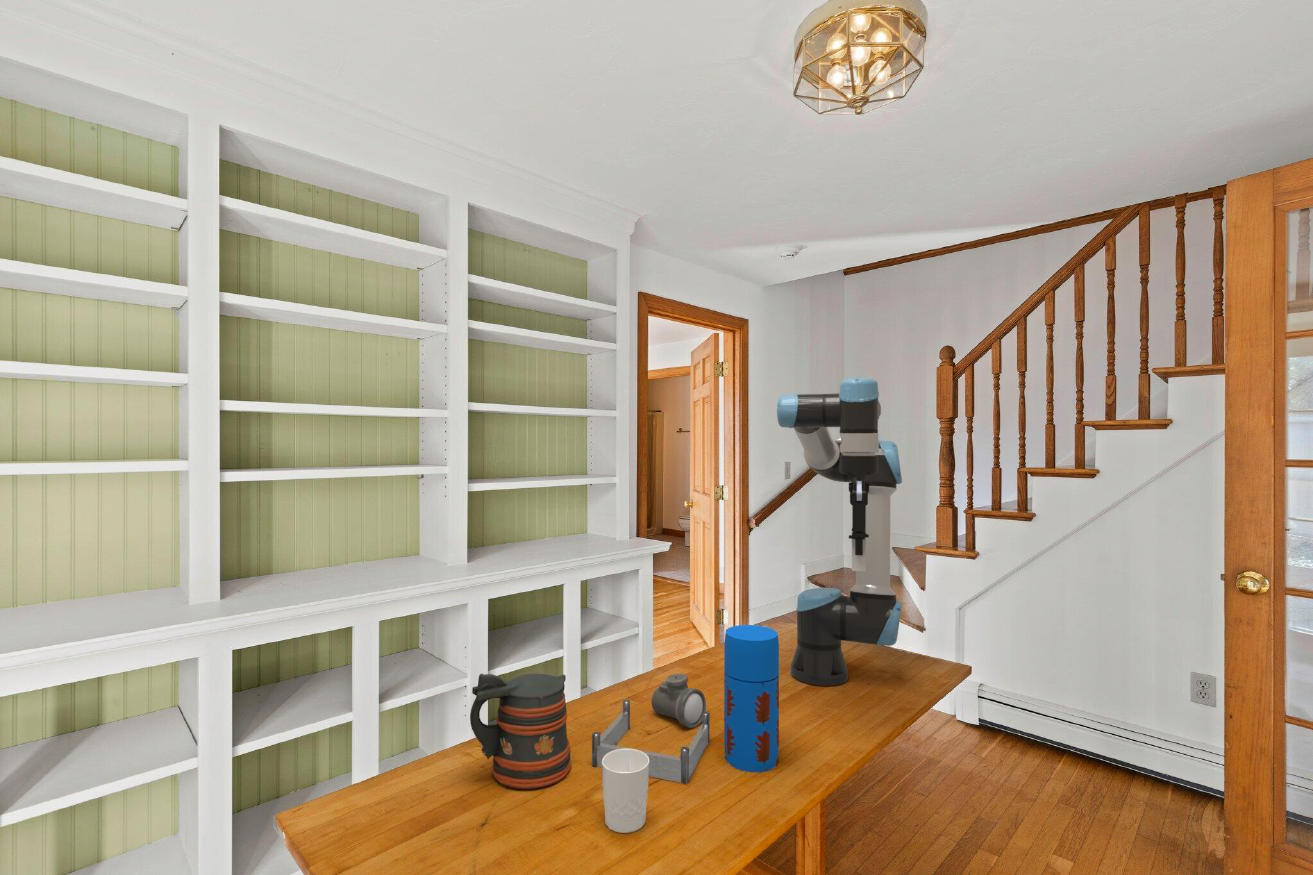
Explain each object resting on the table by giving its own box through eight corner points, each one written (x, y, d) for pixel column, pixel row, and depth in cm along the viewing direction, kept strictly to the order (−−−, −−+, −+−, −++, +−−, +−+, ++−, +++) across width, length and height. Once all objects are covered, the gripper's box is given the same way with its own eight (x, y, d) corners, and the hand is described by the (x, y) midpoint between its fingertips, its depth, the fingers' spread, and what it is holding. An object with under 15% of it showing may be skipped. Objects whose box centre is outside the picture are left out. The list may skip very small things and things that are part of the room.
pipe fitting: (710, 720, 137) (704, 674, 137) (686, 734, 131) (679, 687, 132) (673, 709, 145) (667, 666, 146) (648, 722, 140) (642, 678, 140)
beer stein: (485, 809, 103) (486, 691, 104) (459, 771, 115) (460, 665, 116) (584, 775, 114) (584, 669, 114) (551, 744, 126) (551, 647, 127)
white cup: (601, 807, 104) (602, 749, 104) (647, 805, 105) (647, 747, 105) (601, 837, 96) (601, 773, 96) (650, 834, 97) (651, 771, 97)
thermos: (782, 750, 124) (782, 627, 125) (774, 776, 114) (775, 643, 114) (730, 741, 128) (730, 622, 128) (718, 766, 118) (718, 637, 118)
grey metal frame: (624, 726, 134) (624, 699, 134) (710, 740, 128) (710, 712, 128) (590, 765, 118) (590, 734, 118) (687, 784, 111) (687, 751, 111)
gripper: (839, 454, 131) (839, 563, 131) (839, 455, 119) (839, 575, 118) (876, 454, 129) (876, 565, 129) (879, 455, 116) (879, 578, 116)
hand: (858, 570), depth 123 cm, fingers closed
